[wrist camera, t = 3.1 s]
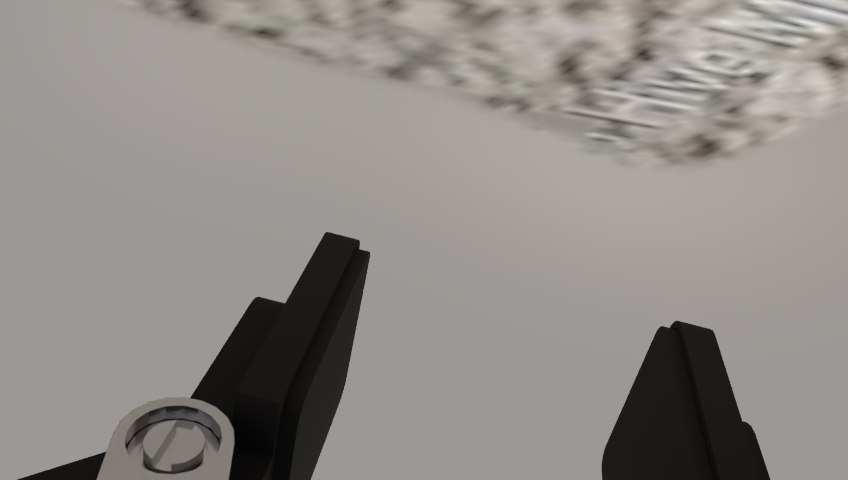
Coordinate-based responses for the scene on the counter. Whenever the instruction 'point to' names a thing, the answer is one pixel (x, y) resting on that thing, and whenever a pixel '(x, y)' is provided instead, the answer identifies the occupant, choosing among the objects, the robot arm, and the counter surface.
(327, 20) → the counter surface
